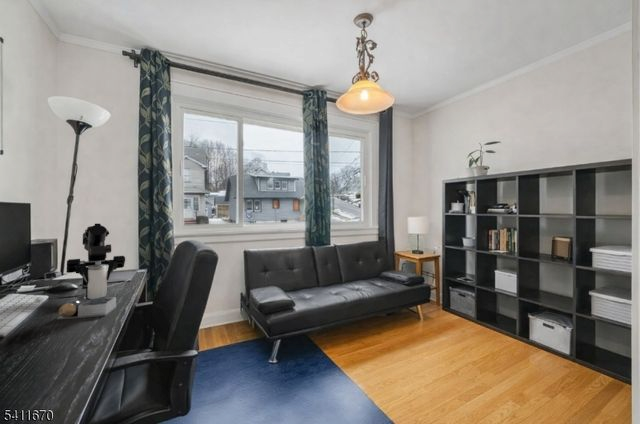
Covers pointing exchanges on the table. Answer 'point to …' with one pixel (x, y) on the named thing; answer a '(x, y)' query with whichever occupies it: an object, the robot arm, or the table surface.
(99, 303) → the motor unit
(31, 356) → the table surface
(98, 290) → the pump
